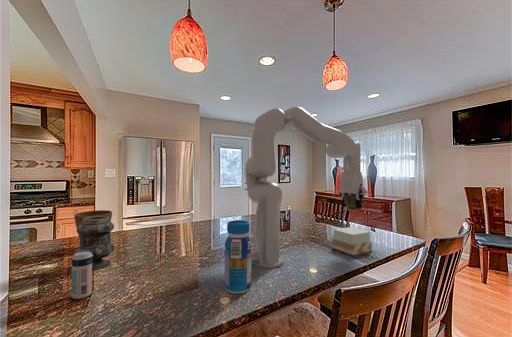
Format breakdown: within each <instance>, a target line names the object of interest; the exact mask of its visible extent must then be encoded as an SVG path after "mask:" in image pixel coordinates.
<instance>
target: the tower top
mask: <svg viewBox="0 0 512 337" xmlns="http://www.w3.org/2000/svg"><path fill="white" fill-rule="evenodd" d="M370 235H371V234H370V231H367V230H364V229H360V228H356V227H353V226H352V227H351V226H349V227H342V228H336V229H333V239H335V240H338V241H341V242H344V243H347V244H350V245H357V244H362V243H367V242H371V241H370V240H371V238H370Z"/></svg>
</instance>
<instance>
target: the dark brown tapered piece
mask: <svg viewBox="0 0 512 337" xmlns="http://www.w3.org/2000/svg"><path fill="white" fill-rule="evenodd" d="M343 195H344V203H345V205H346V206H347V211H349V212H355V211H356V210H357V209H356V200H357V198H356V196H355V194H344V193H343ZM359 196H360V194H359Z"/></svg>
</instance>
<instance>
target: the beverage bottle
mask: <svg viewBox="0 0 512 337" xmlns="http://www.w3.org/2000/svg"><path fill="white" fill-rule="evenodd" d="M226 226H227V228H226V233H227V234H228V236H227V238H226V240H225V242H224V248H225V249H224V253H223V256H224V284H223V286H224V290H225V291H227V292H228V293H230V294H236V295H237V294H243V293H247V292H248V291H249V290H251V288H252V262H251V256H252V253H253V250H252V249H251V248H252V241H251V238H250V237H249V233H250V222H249V221H247V220H242V219H237V220H235V219H234V220H229V221H228V222H227V224H226Z"/></svg>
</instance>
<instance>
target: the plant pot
mask: <svg viewBox="0 0 512 337" xmlns="http://www.w3.org/2000/svg"><path fill="white" fill-rule="evenodd" d="M93 216H108V217H109V220H110V222H112V217H113V211H112V210H107V209H106V210H104V209H103V210H102V209H101V210H100V209H99V210H88V211H81V212H77V213H75V214H73V217H74V223H75V227H76V229H77V227H78V226H79V225H80V224H82V220H83V218H86V217H93ZM77 234H78V233H77ZM78 237H79V239H80V234H78Z"/></svg>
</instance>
